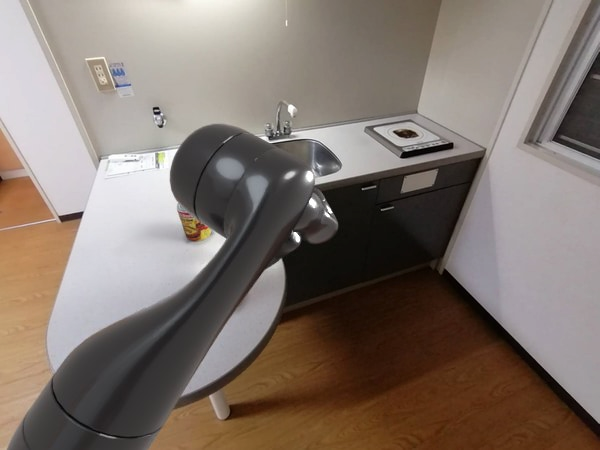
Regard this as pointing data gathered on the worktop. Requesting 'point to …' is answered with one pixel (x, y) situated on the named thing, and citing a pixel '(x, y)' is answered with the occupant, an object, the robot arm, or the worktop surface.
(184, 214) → the canned food
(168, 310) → the robot arm
